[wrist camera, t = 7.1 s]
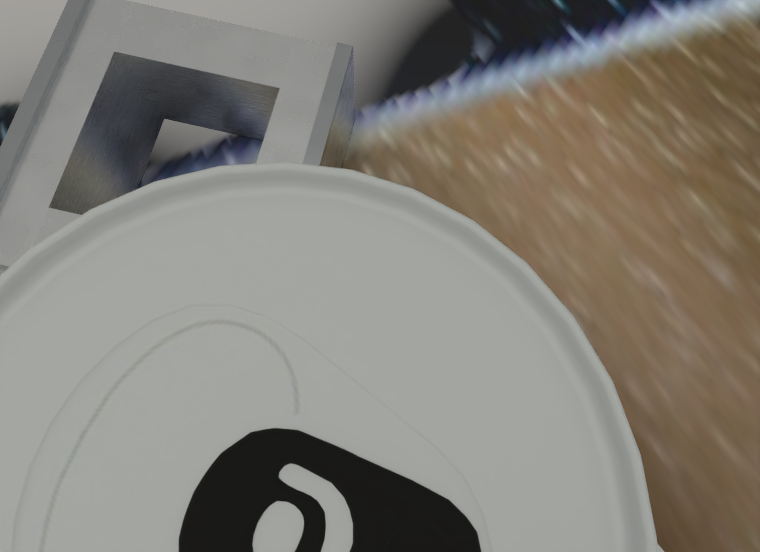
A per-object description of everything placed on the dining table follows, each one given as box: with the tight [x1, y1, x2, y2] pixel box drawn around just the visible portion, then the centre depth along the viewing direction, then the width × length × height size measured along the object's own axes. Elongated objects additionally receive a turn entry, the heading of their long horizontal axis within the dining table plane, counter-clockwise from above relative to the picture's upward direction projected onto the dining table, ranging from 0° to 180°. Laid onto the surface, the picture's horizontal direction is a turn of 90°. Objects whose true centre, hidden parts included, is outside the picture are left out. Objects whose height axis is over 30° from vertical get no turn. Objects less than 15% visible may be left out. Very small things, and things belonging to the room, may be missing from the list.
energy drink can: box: [0, 162, 657, 552], centre depth 10 cm, size 6×6×15 cm
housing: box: [0, 0, 355, 270], centre depth 25 cm, size 14×14×6 cm
